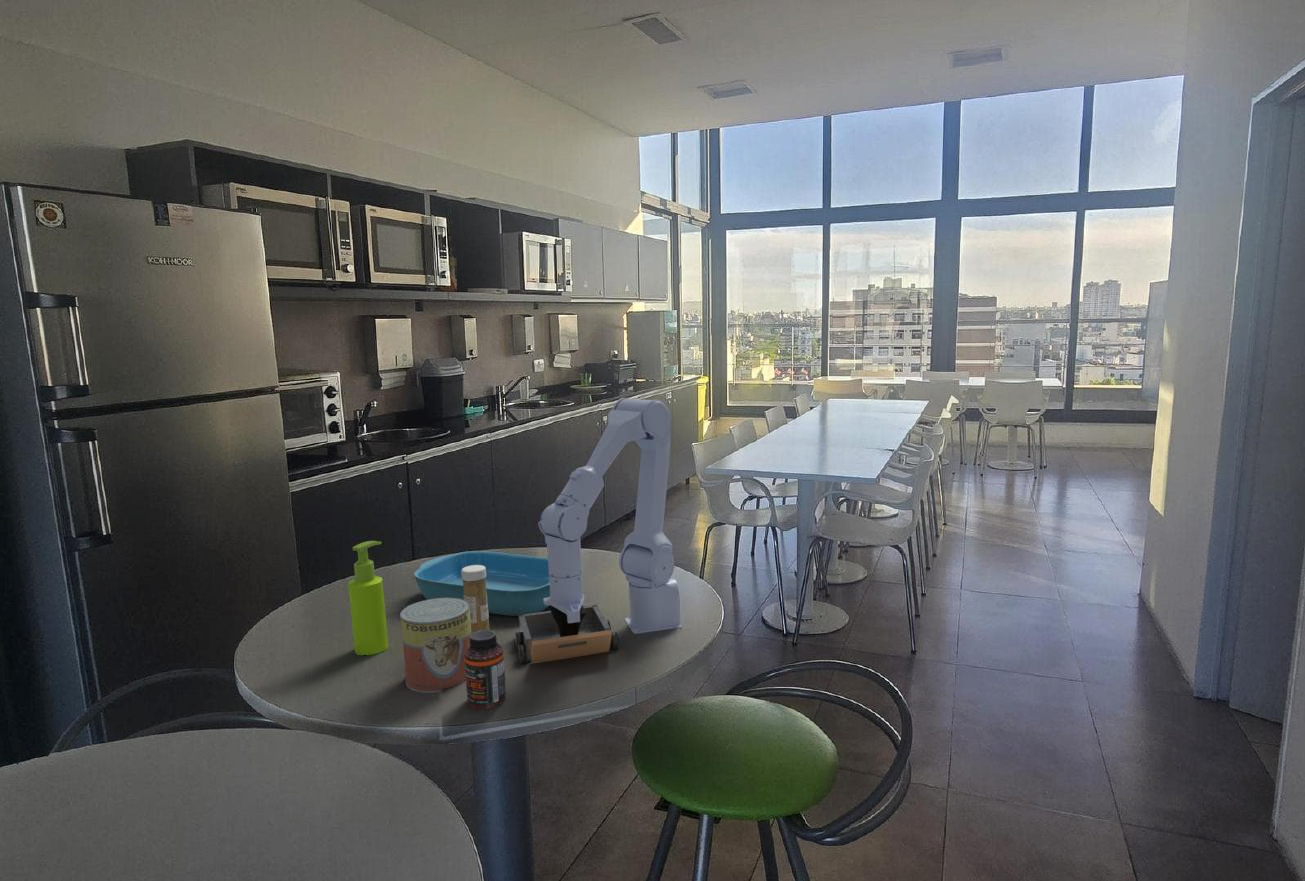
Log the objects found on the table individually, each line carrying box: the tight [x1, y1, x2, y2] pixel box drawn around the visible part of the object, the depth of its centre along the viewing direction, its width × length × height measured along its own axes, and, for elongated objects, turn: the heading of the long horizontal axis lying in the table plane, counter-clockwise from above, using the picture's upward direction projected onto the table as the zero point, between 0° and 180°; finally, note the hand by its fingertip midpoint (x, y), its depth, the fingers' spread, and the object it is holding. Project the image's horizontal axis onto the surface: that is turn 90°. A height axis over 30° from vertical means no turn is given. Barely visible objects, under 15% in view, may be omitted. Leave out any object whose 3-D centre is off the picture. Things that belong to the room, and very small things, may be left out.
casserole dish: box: [413, 550, 551, 617], centre depth 165 cm, size 37×22×7 cm, turn 67°
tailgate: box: [530, 629, 613, 664], centre depth 131 cm, size 14×1×6 cm
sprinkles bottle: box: [461, 565, 491, 634], centre depth 144 cm, size 5×5×14 cm
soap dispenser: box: [347, 540, 389, 656], centre depth 140 cm, size 6×7×20 cm
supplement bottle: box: [464, 629, 507, 710], centre depth 118 cm, size 6×6×11 cm
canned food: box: [399, 598, 471, 694], centre depth 127 cm, size 11×11×12 cm
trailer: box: [514, 604, 620, 665], centre depth 139 cm, size 17×13×4 cm
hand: (569, 647), depth 133 cm, fingers closed
